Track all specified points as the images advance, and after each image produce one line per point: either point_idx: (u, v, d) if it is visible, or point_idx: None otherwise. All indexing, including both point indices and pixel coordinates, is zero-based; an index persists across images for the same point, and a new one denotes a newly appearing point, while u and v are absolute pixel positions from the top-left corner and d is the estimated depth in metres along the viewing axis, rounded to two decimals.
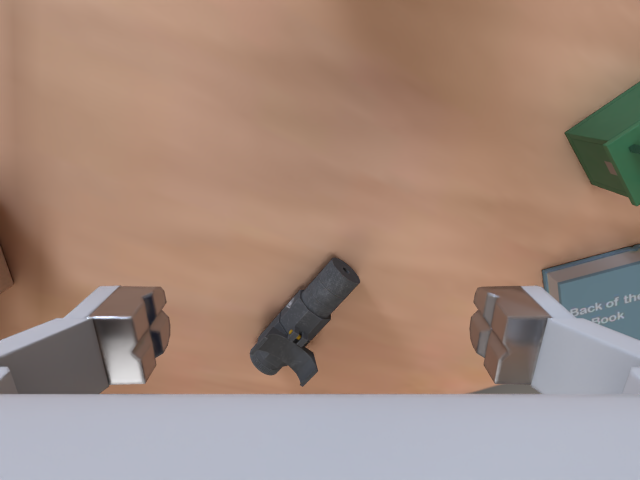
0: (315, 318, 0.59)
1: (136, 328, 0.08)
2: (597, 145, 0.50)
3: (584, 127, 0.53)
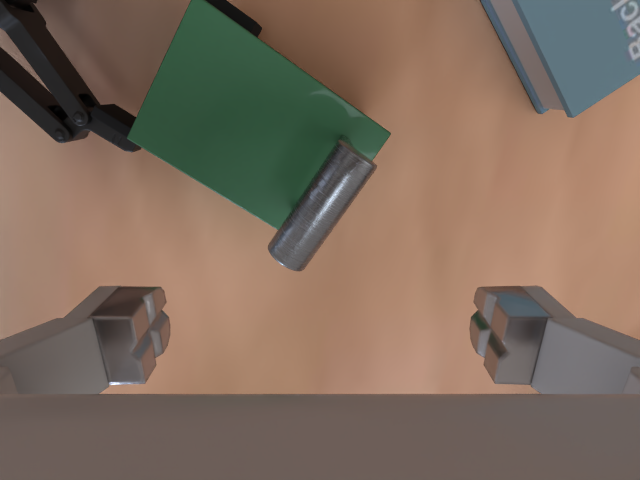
0: None
1: (137, 328, 0.08)
2: None
3: None
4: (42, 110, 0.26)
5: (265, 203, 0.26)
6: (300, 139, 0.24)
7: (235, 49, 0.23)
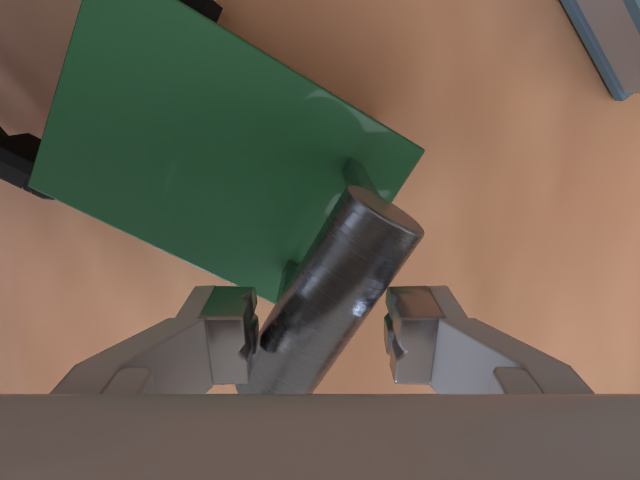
0: None
1: (244, 328, 0.08)
2: None
3: None
4: None
5: (242, 263, 0.18)
6: (287, 169, 0.16)
7: (172, 38, 0.14)
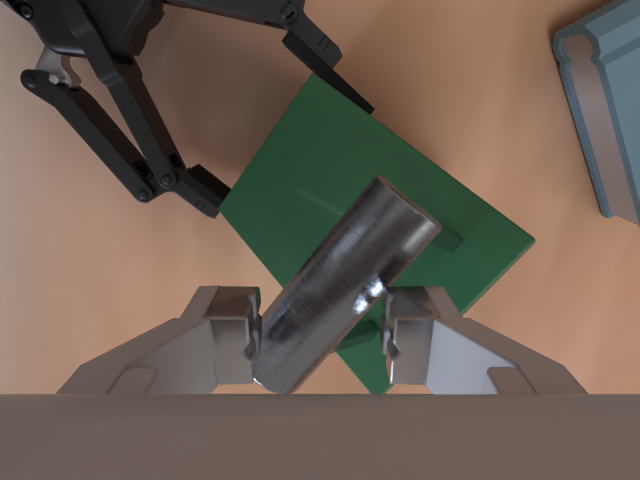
0: None
1: (249, 328, 0.08)
2: None
3: None
4: (129, 168, 0.24)
5: None
6: None
7: (337, 123, 0.20)
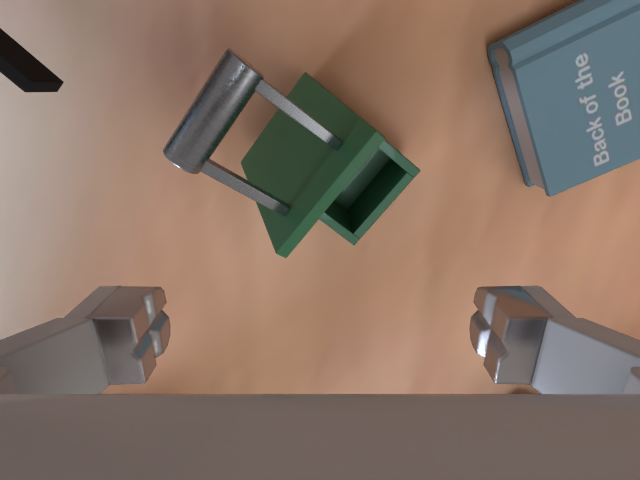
0: None
1: (137, 328, 0.08)
2: None
3: None
4: None
5: None
6: (312, 148, 0.26)
7: (307, 95, 0.30)
